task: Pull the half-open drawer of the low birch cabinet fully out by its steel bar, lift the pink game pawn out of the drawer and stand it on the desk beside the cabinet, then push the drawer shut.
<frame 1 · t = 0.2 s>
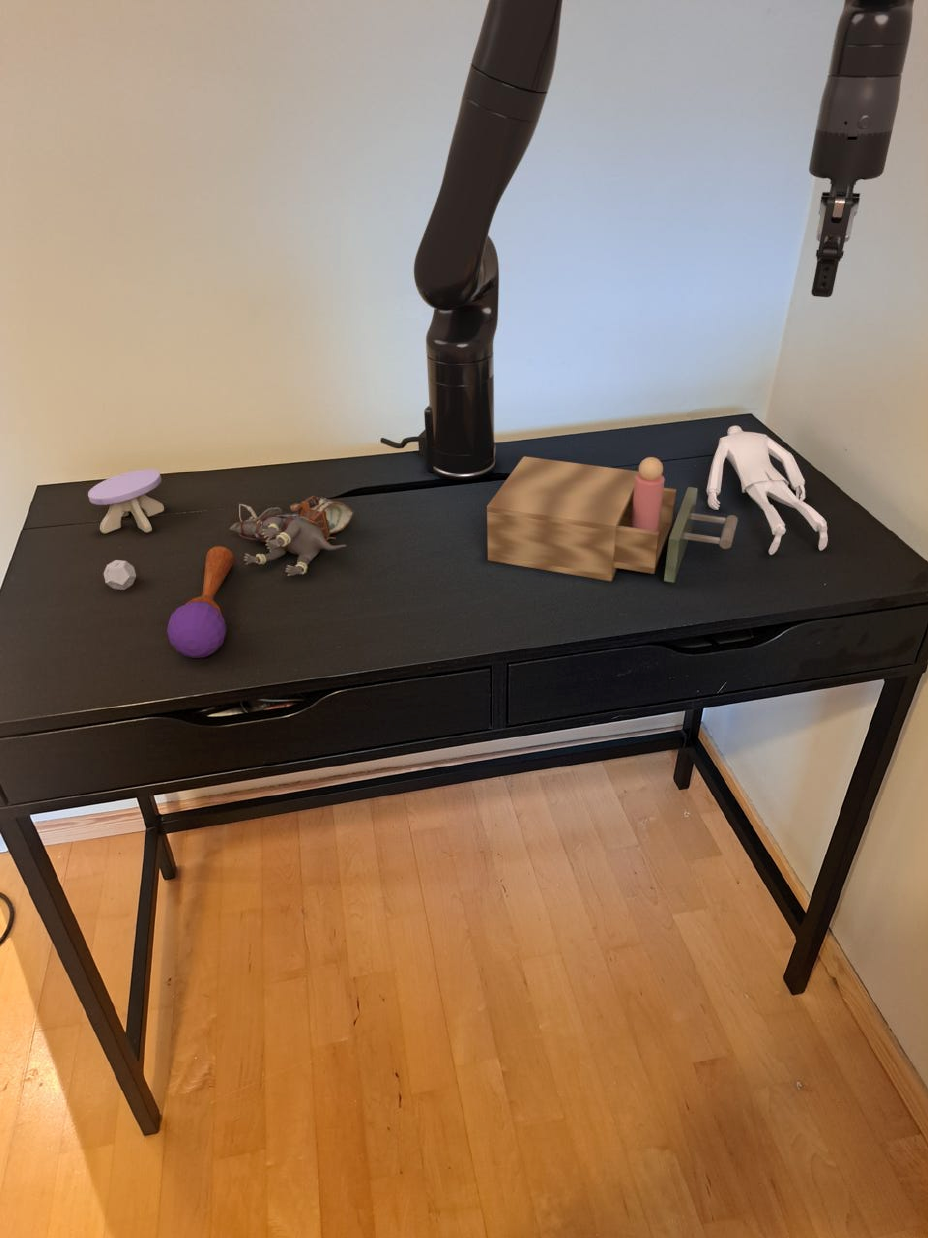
hand: (823, 285, 103), 29 cm above the table, tool pointing down, fingers open, 8 cm apart
purple maraca: (211, 616, 103), on the table
game die: (123, 586, 109), on the table
figurine: (303, 543, 116), on the table
cabinet: (564, 542, 114), on the table
toy table: (135, 522, 122), on the table
pink game pawn: (643, 540, 110), point 2 cm above the table, touching drawer
drawer: (649, 528, 109), point 4 cm above the table, slide at 6.0 cm, touching pink game pawn
male figurine: (759, 509, 120), on the table
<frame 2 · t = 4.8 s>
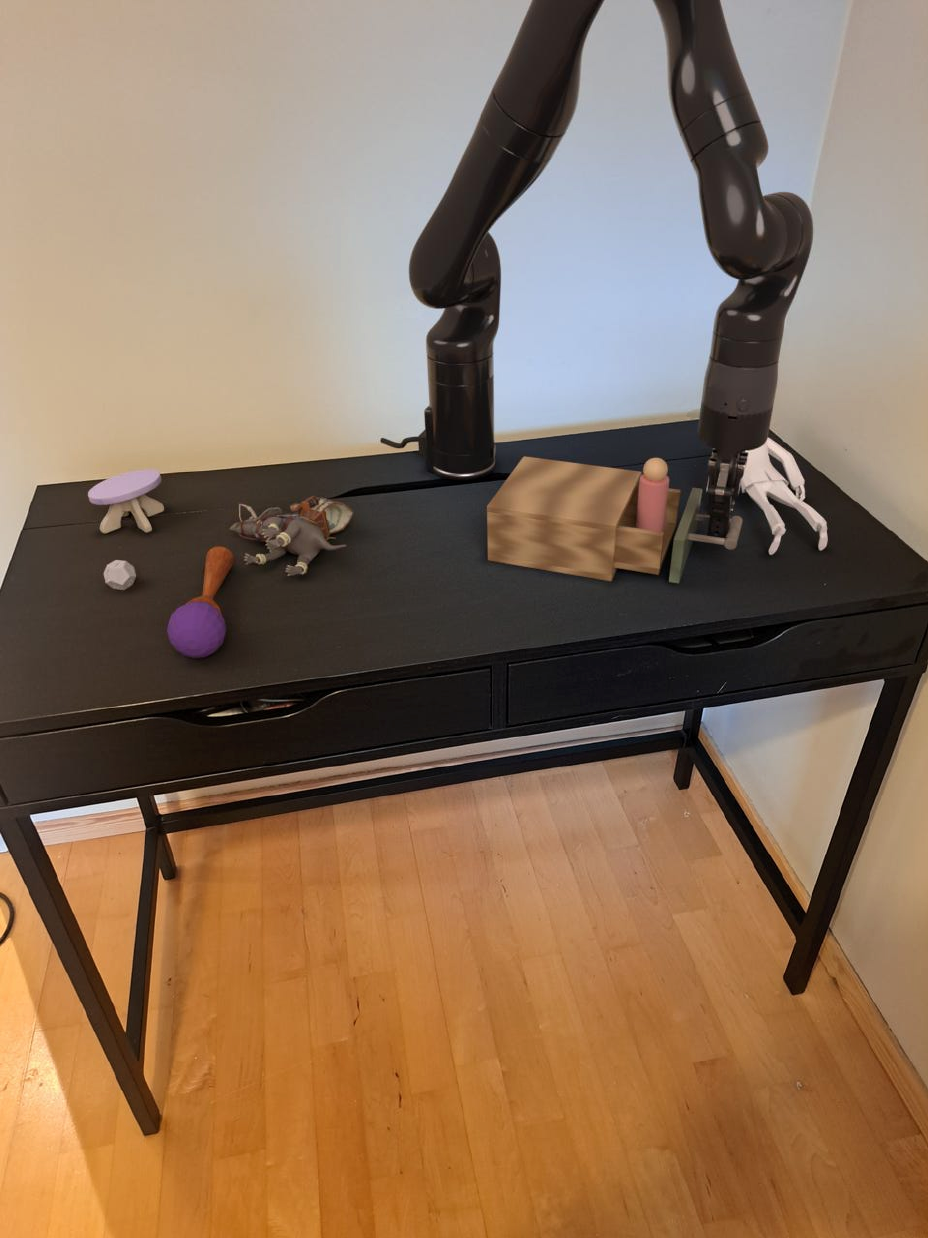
hand: (716, 538, 106), 4 cm above the table, tool pointing down, fingers closed
drawer: (653, 528, 109), point 4 cm above the table, slide at 6.6 cm, touching pink game pawn
everything else where it was.
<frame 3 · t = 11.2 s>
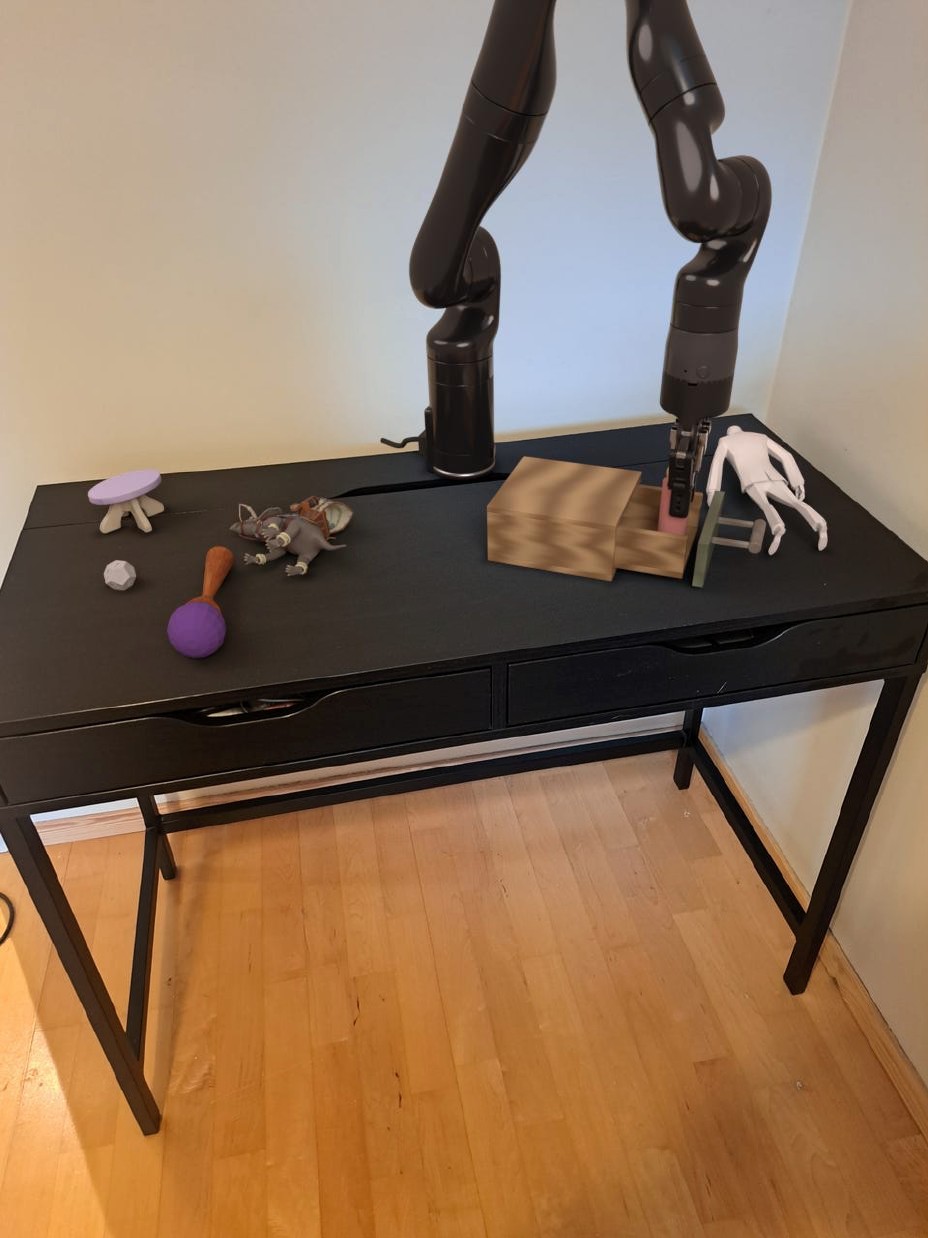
hand: (681, 507, 106), 7 cm above the table, tool pointing down, fingers closed on pink game pawn, 3 cm apart
pink game pawn: (670, 544, 109), point 2 cm above the table, touching drawer, gripper
drawer: (676, 532, 108), point 4 cm above the table, slide at 9.3 cm, touching pink game pawn
everything else where it was.
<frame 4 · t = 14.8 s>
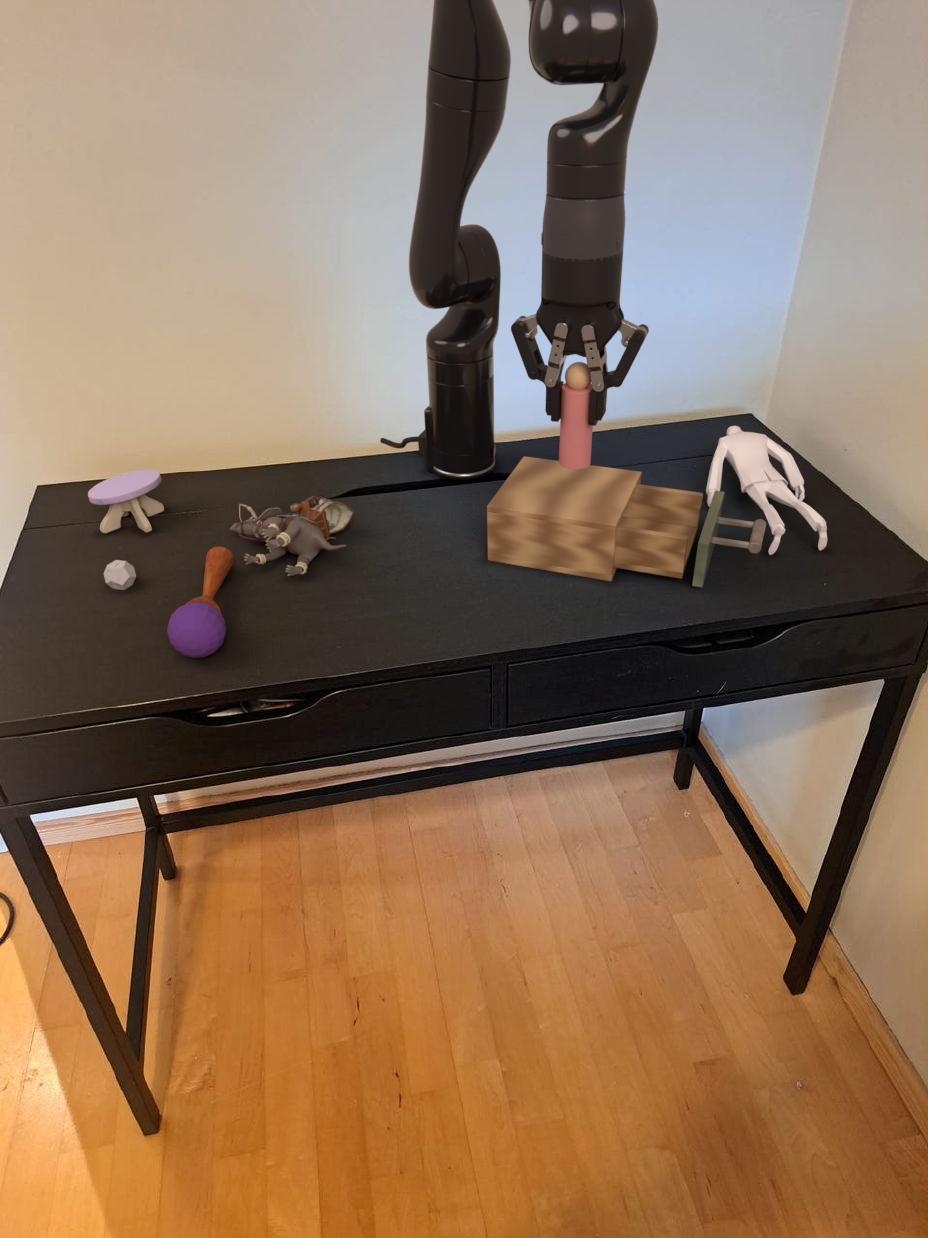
hand: (574, 419, 93), 21 cm above the table, tool pointing down, fingers closed on pink game pawn, 3 cm apart
pink game pawn: (574, 462, 97), point 16 cm above the table, touching gripper
drawer: (676, 532, 108), point 4 cm above the table, slide at 9.3 cm
everything else where it was.
when the fingers open (5 cm above the table, at t = 19.0 s): pink game pawn stays where it is, on the table.
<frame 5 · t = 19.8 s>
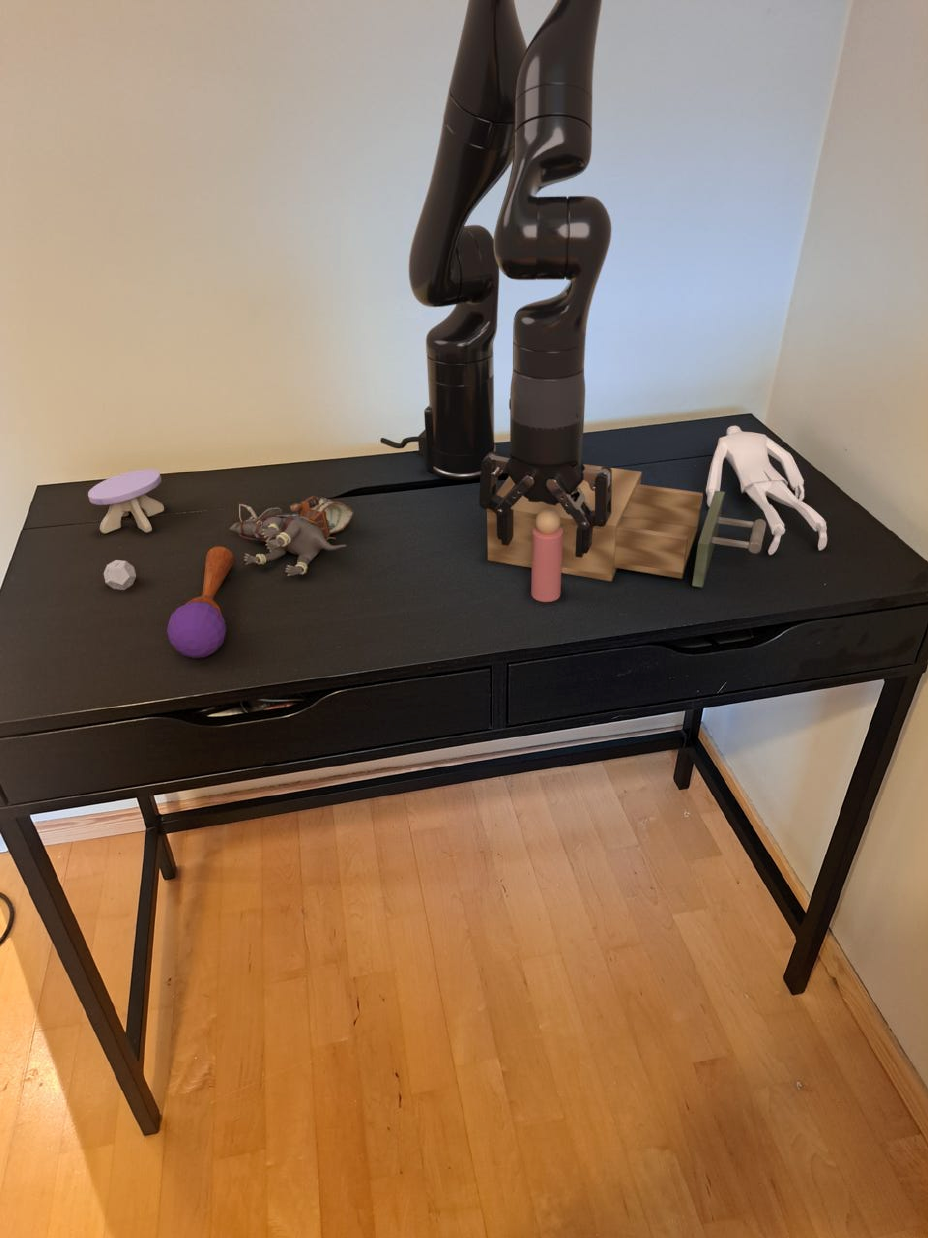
hand: (543, 547, 100), 7 cm above the table, tool pointing down, fingers open, 8 cm apart
pink game pawn: (545, 594, 105), on the table
everything else where it was.
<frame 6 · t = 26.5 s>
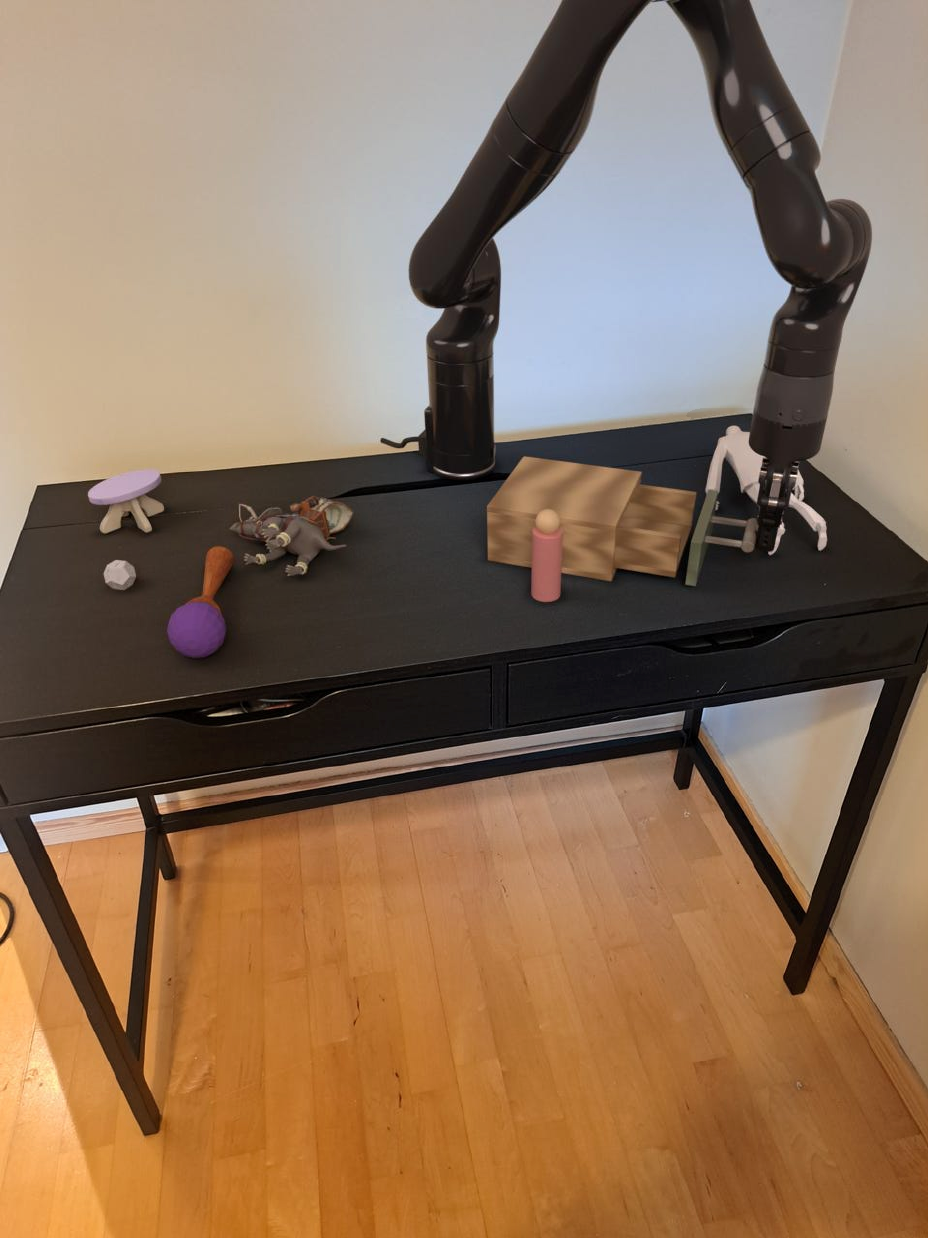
hand: (764, 547, 105), 3 cm above the table, tool pointing down, fingers closed
drawer: (669, 531, 108), point 4 cm above the table, slide at 8.5 cm, touching gripper
everything else where it was.
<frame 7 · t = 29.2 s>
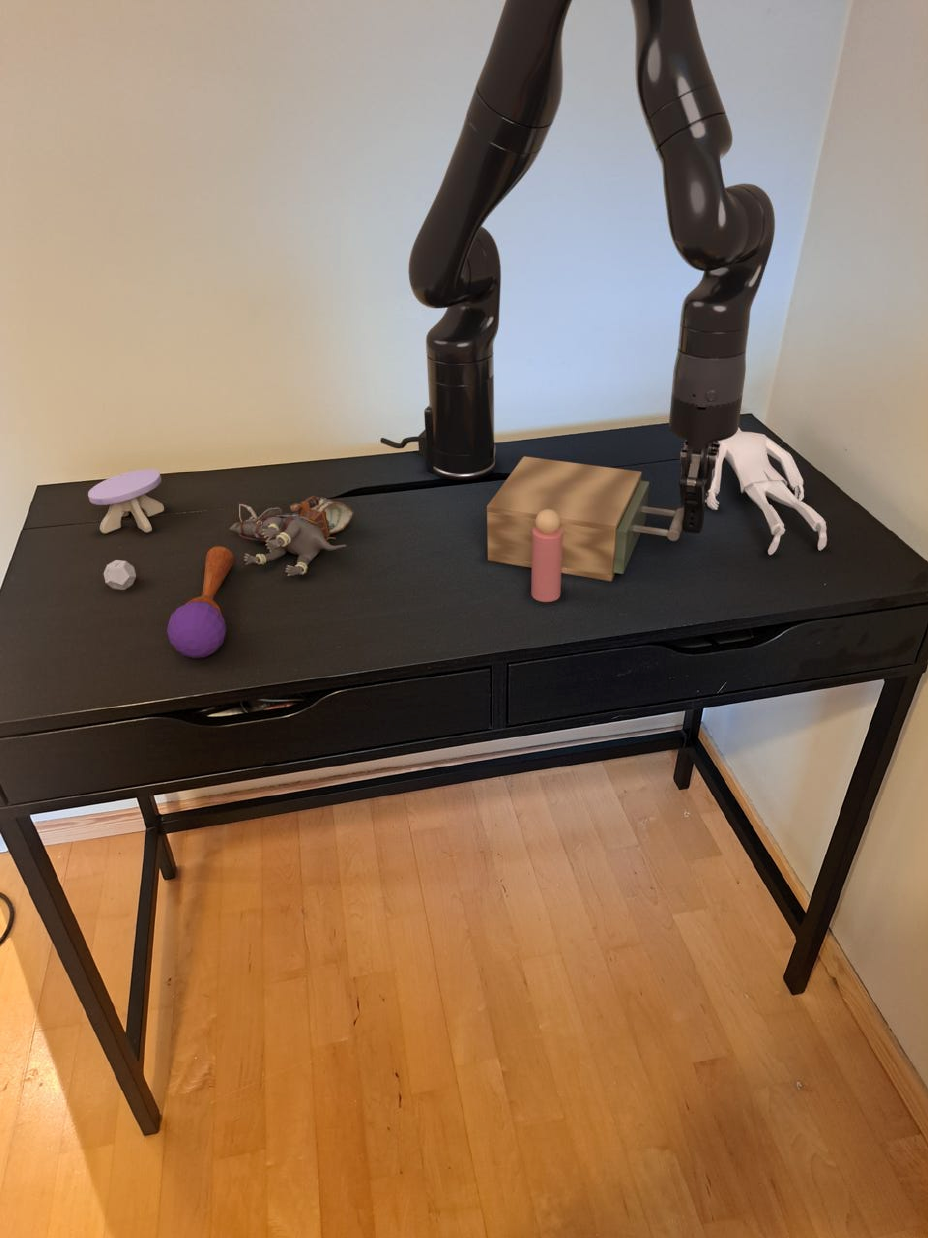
hand: (692, 529, 107), 4 cm above the table, tool pointing down, fingers closed
drawer: (600, 521, 111), point 4 cm above the table, slide at 0.0 cm, touching cabinet
everything else where it was.
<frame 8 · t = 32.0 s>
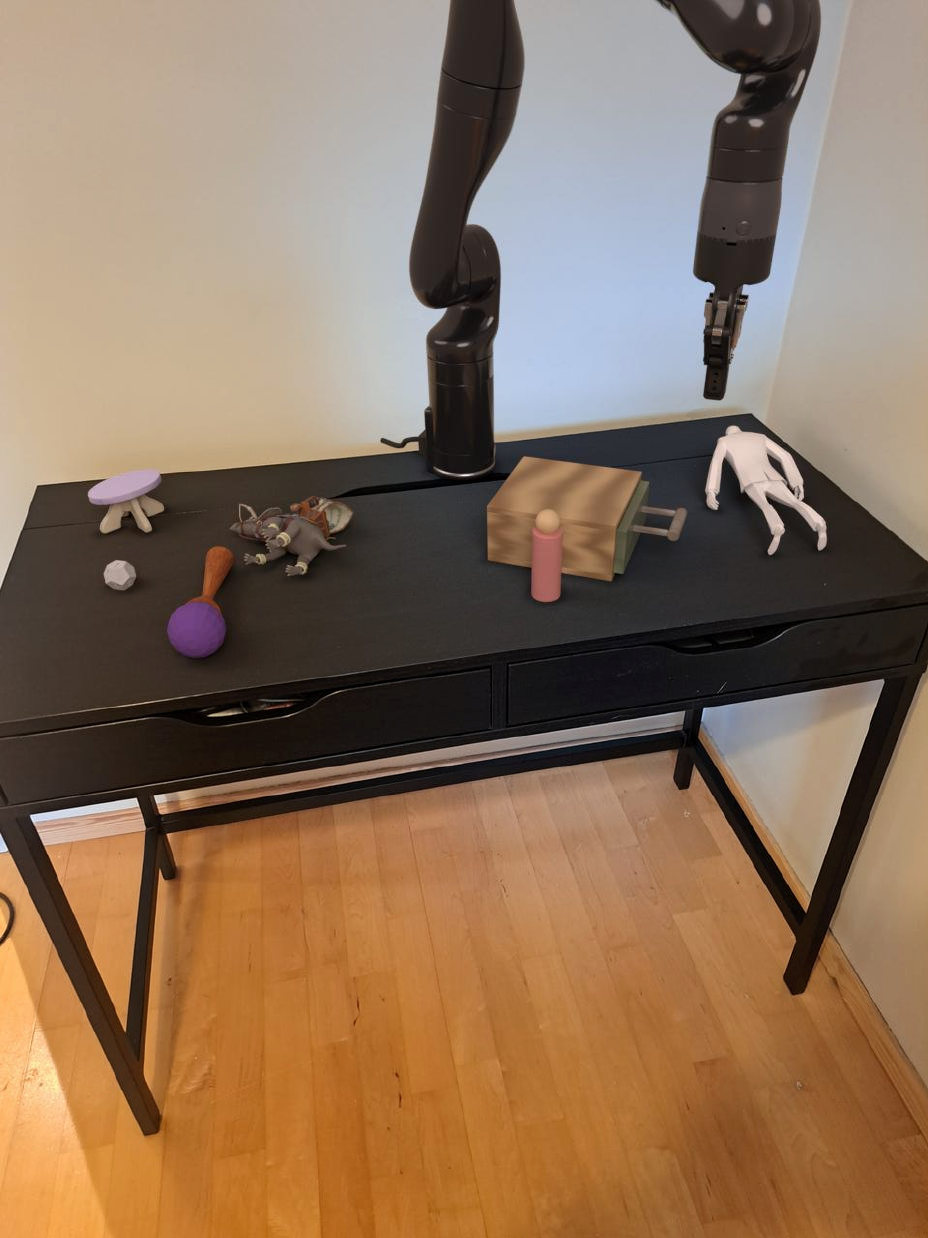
hand: (713, 397, 97), 21 cm above the table, tool pointing down, fingers closed
nothing on the table moved.
at the end: pink game pawn inside the target area (0.7 cm from its centre), on the table; drawer slide at 0.0 cm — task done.
